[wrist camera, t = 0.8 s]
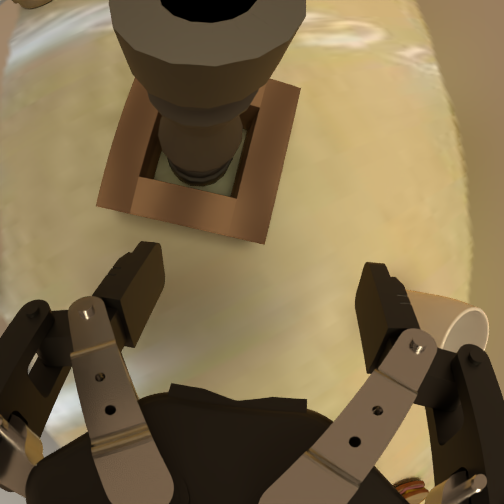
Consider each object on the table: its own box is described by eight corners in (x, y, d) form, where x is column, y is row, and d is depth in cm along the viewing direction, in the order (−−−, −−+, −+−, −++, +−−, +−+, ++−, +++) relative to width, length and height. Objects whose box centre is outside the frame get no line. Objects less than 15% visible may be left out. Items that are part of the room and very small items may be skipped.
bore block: (117, 209, 30) (95, 206, 23) (154, 83, 29) (145, 52, 23) (250, 239, 33) (264, 244, 26) (281, 112, 32) (300, 88, 25)
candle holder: (212, 118, 31) (252, -79, 6) (241, 168, 32) (355, 37, 7) (158, 145, 30) (78, -23, 6) (187, 198, 31) (148, 118, 7)
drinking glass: (409, 287, 36) (498, 317, 22) (388, 338, 37) (469, 386, 22) (369, 269, 35) (460, 296, 20) (346, 324, 35) (425, 377, 21)
